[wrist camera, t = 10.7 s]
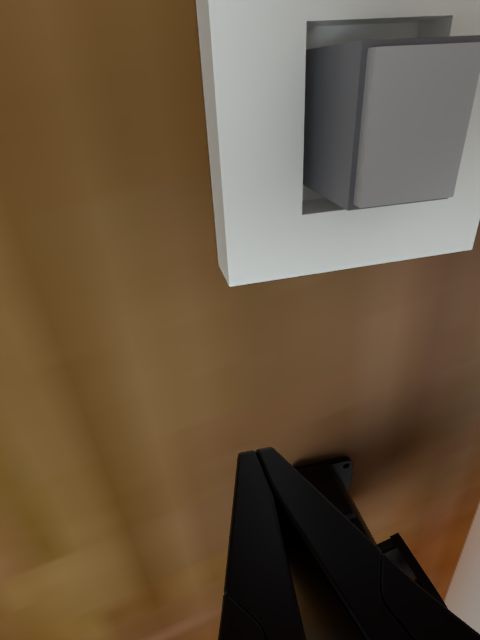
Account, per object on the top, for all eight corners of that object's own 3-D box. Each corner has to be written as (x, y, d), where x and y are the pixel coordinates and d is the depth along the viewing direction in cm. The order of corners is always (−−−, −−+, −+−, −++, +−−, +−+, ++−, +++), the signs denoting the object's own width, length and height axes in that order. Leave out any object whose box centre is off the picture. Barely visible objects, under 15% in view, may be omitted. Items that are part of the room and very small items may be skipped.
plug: (383, 175, 19) (456, 202, 15) (301, 183, 18) (354, 214, 14) (400, 45, 16) (493, 33, 12) (305, 49, 16) (370, 38, 12)
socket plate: (439, 233, 22) (472, 249, 20) (218, 264, 20) (229, 286, 18) (499, -68, 16) (556, -91, 14) (189, -68, 14) (201, -94, 12)
